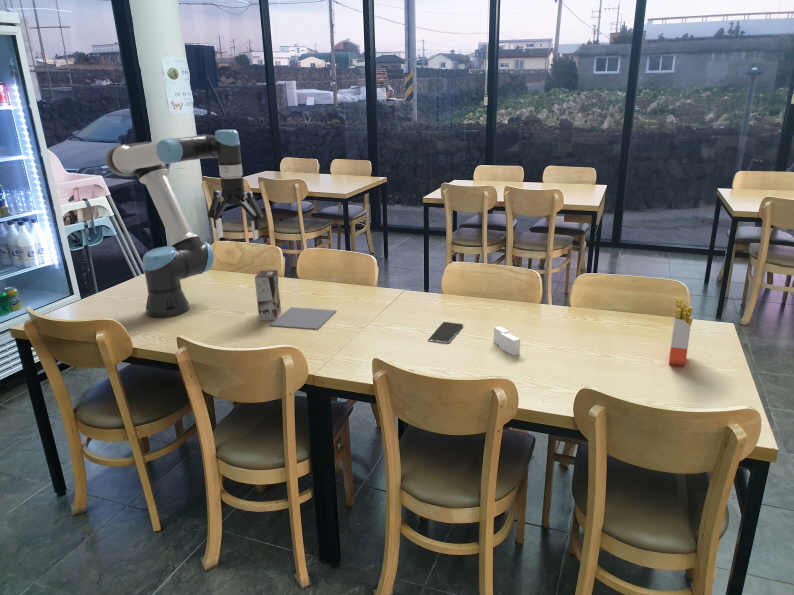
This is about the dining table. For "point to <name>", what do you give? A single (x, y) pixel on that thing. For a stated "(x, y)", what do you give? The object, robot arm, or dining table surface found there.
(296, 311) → the rubber mat
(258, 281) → the coffee box
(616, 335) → the dining table surface
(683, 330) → the french fries container
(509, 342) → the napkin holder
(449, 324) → the smartphone
